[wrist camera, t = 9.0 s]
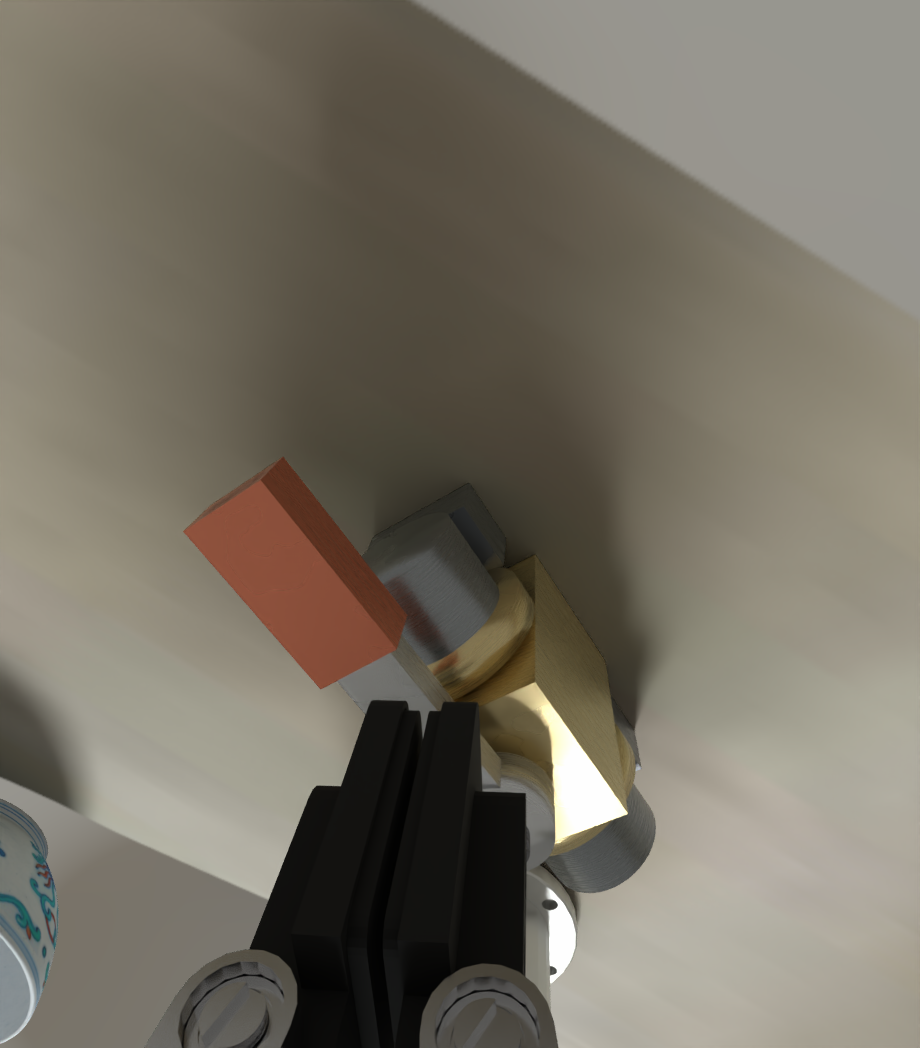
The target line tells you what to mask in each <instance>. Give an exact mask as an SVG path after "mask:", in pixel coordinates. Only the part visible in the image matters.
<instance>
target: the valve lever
mask: <svg viewBox="0 0 920 1048" xmlns="http://www.w3.org/2000/svg"><path fill="white" fill-rule="evenodd" d="M183 532H184V533H185V534H186V535H187V536H188V537H189V539H190V540H191V541H192V542H193V543H194V544H195V546H196V547H197V548H198V549H199V550H200V551H201V552H202V554H203V555H204V556H205V557H206V558H207V559H208V560H209V562H210V563H211V564H212V565H213V566H214V567H215V568H216V570H217V571H218V572H219V573H220V574H221V575H222V577H223V578H224V579H225V580H226V581H227V582H228V583H229V585H230V586H231V587H232V588H233V589H234V590H235V591H236V593H237V594H238V595H239V596H240V597H241V598H242V600H243V601H244V602H245V603H246V604H247V605H248V606H249V608H250V609H251V610H252V611H253V612H254V613H255V614H256V616H257V617H258V618H259V619H260V620H261V621H262V623H263V624H264V625H265V626H266V627H267V628H268V629H269V631H270V632H271V633H272V634H273V635H274V636H275V637H276V639H277V640H278V641H279V642H280V643H281V644H282V646H283V647H284V648H285V649H286V650H287V651H288V652H289V654H290V655H291V656H292V657H293V658H294V659H295V660H296V662H297V663H298V664H299V665H300V666H301V667H302V669H303V670H304V671H305V672H306V673H307V674H308V675H309V677H310V678H311V679H312V680H313V681H314V682H315V683H316V685H317V686H318V687H319V688H320V689H322V688H324V687H326V686H328V685H330V684H332V683H334V682H336V681H337V682H338V683H339V684H340V685H341V687H342V688H343V689H344V690H345V691H346V692H347V694H348V695H349V696H350V697H351V698H352V699H353V701H354V702H355V703H356V704H357V705H358V706H359V708H360V709H361V710H362V711H363V712H364V713H365V715H366V712H367V709H368V706H369V704H370V702H371V701H372V700H396V701H407V703H408V706H409V710H419V711H420V714H421V722H422V735H423V736H424V732H425V727H426V722H427V718H428V714H429V711H441V708H442V704H443V702H455V701H454V700H453V698H452V697H451V696H450V695H449V693H448V692H447V691H446V690H445V688H444V687H443V686H442V685H441V683H440V682H439V681H438V680H437V678H436V677H435V676H434V675H433V673H432V672H431V671H430V670H429V668H428V667H427V666H426V665H425V663H424V662H423V661H422V660H421V658H420V657H419V656H418V654H417V653H416V652H415V651H414V649H413V648H412V647H411V646H410V644H409V643H408V642H407V641H406V639H405V638H404V637H403V636H402V631H403V628H404V625H405V621H406V618H407V614H406V613H405V612H404V610H403V609H402V608H401V607H400V605H399V604H398V603H397V601H396V600H395V599H394V598H393V596H392V595H391V594H390V592H389V591H388V590H387V589H386V587H385V586H384V585H383V584H382V582H381V581H380V580H379V578H378V577H377V576H376V575H375V573H374V572H373V571H372V570H371V568H370V567H369V566H368V564H367V563H366V562H365V561H364V559H363V558H362V557H361V555H360V554H359V553H358V552H357V550H356V549H355V548H354V547H353V545H352V544H351V543H350V541H349V540H348V539H347V538H346V536H345V535H344V534H343V533H342V531H341V530H340V529H339V527H338V526H337V525H336V524H335V522H334V521H333V520H332V518H331V517H330V516H329V515H328V513H327V512H326V511H325V510H324V508H323V507H322V506H321V504H320V503H319V502H318V501H317V499H316V498H315V497H314V495H313V494H312V493H311V492H310V490H309V489H308V488H307V487H306V485H305V484H304V483H303V481H302V480H301V479H300V478H299V476H298V475H297V474H296V473H295V471H294V470H293V469H292V467H291V466H290V465H289V464H288V462H287V461H286V460H285V458H284V457H282V458H280V459H279V460H277V461H276V462H274V463H273V464H271V465H270V466H268V467H267V468H265V469H264V470H262V471H261V472H259V473H258V474H256V475H255V476H254V477H252V478H251V479H249V480H248V481H246V482H245V483H243V484H242V485H240V486H239V487H237V488H236V489H234V490H233V491H231V492H230V493H228V494H227V495H225V496H224V497H222V498H221V499H219V500H218V501H216V502H215V503H213V504H212V505H210V506H209V507H208V508H207V509H206V510H205V511H204V512H203V513H202V514H201V515H200V516H199V517H198V518H197V519H196V520H195V521H194V522H193V523H192V524H190V525H189V526H188V527H187V528H186V529H185V530H184V531H183ZM480 742H481V766H482V789H483V792H512V793H526V830H527V871H529V870H531V869H533V868H535V867H537V866H539V865H540V864H541V863H543V862H544V861H545V860H546V859H547V858H548V857H549V855H550V854H551V852H552V850H553V848H554V845H555V838H556V834H555V802H554V788H553V784H552V782H551V780H550V778H549V776H548V775H547V773H546V772H545V771H544V770H543V769H542V768H541V767H540V766H539V765H537V764H536V763H534V762H533V761H531V760H529V759H527V758H525V757H523V756H520V755H517V754H513V753H507V752H495V751H494V750H493V749H492V747H491V746H490V745H489V744H488V742H487V741H486V740H485V739H484V737H483V736H482V735H481V734H480Z"/></svg>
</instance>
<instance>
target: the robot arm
mask: <svg viewBox="0 0 920 1048" xmlns="http://www.w3.org/2000/svg"><path fill="white" fill-rule="evenodd" d="M576 947H577V922H576V913H575V909H574V906H573V904H572V901H571V899H570V896H569V895H568V893H567V892H566V891H565V889H564V888H563V886H562V885H561V883H560V882H559V881H558V880H557V879H556V878H555V877H554V876H553V875H552V874H550V873H549V872H548V871H547V870H546V869H545V868H543V867H542V866H540V865H539V866H537V867H535V868H533V869H531V870H529V871H527V830H526V793H512V792H483V789H482V766H481V742H480V719H479V705H478V702H443V704H442V708H441V711H429V714H428V718H427V722H426V727H425V732H424V736H423V735H422V722H421V714H420V711H419V710H409V706H408V703H407V701H396V700H372V701H371V702H370V704H369V706H368V709H367V712H366V715H365V718H364V721H363V724H362V727H361V730H360V733H359V736H358V738H357V741H356V744H355V747H354V750H353V753H352V756H351V759H350V762H349V765H348V768H347V771H346V773H345V776H344V779H343V782H342V785H341V786H316V787H315V788H314V789H313V790H312V792H311V794H310V796H309V798H308V801H307V803H306V806H305V809H304V811H303V814H302V816H301V819H300V821H299V824H298V826H297V829H296V832H295V834H294V837H293V839H292V842H291V844H290V847H289V849H288V852H287V855H286V857H285V860H284V862H283V865H282V867H281V870H280V872H279V875H278V877H277V880H276V883H275V885H274V888H273V890H272V893H271V895H270V898H269V900H268V903H267V906H266V908H265V911H264V913H263V916H262V918H261V921H260V923H259V926H258V928H257V931H256V934H255V936H254V939H253V941H252V944H251V947H250V949H248V950H247V949H245V950H240V951H236V952H232V953H228V954H225V955H223V956H221V957H219V958H217V959H215V960H213V961H211V962H209V963H207V964H206V965H205V966H203V967H202V968H201V969H200V970H199V971H197V972H196V973H195V974H194V975H193V976H191V977H190V978H189V979H188V981H187V982H186V983H185V984H184V986H183V987H182V989H181V990H180V991H179V992H178V993H177V995H176V996H175V997H174V999H173V1001H172V1002H171V1004H170V1006H169V1007H168V1009H167V1011H166V1012H165V1014H164V1016H163V1017H162V1019H161V1020H160V1022H159V1024H158V1025H157V1027H156V1028H155V1030H154V1032H153V1034H152V1035H151V1037H150V1038H149V1040H148V1042H147V1043H146V1045H145V1047H144V1048H558V1043H557V1037H556V1031H555V1026H554V1021H553V1018H552V1015H551V1003H550V983H552V982H553V981H554V980H555V979H556V978H558V977H559V976H560V975H561V974H562V973H563V972H564V971H565V969H566V968H567V966H568V965H569V963H570V962H571V961H572V959H573V956H574V953H575V950H576Z"/></svg>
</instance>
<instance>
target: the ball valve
mask: <svg viewBox="0 0 920 1048" xmlns="http://www.w3.org/2000/svg"><path fill="white" fill-rule="evenodd" d="M505 545H506V537H505V536H504V534H503V533H502V531H501V530H500V528H499V527H498V525H497V524H496V522H495V521H494V519H493V518H492V516H491V515H490V513H489V512H488V510H487V509H486V507H485V506H484V504H483V503H482V501H481V500H480V498H479V497H478V495H477V494H476V492H475V491H474V489H473V488H472V486H471V485H470V483H468V484H466V485H464V486H462V487H461V488H459V489H457V490H455V491H453V492H452V493H450V494H448V495H446V496H445V497H443V498H441V499H439V500H438V501H436V502H434V503H432V504H430V505H429V506H427V507H425V508H423V509H422V510H420V511H418V512H416V513H415V514H413V515H411V516H409V517H407V518H406V519H404V520H402V521H400V522H399V523H397V524H395V525H393V526H391V527H390V528H388V529H386V530H384V531H383V532H381V533H379V534H377V535H376V536H374V537H373V539H372V541H371V543H370V546H369V548H368V550H367V552H366V553H365V554H364V555H362V556H361V557H362V558H363V559H364V561H365V562H366V563H367V564H368V566H369V567H370V568H371V570H372V571H373V572H374V573H375V575H376V576H377V577H378V578H379V580H380V581H381V582H382V584H383V585H384V586H385V587H386V589H387V590H388V591H389V592H390V594H391V595H392V596H393V598H394V599H395V600H396V601H397V603H398V604H399V605H400V607H401V608H402V609H403V610H404V612H405V613H406V614H407V618H406V621H405V625H404V628H403V631H402V636H403V637H404V638H405V639H406V641H407V642H408V643H409V644H410V646H411V647H412V648H413V649H414V651H415V652H416V653H417V654H418V656H419V657H420V658H421V660H422V661H423V662H424V663H425V665H426V666H427V667H428V668H429V670H430V671H431V672H432V673H433V675H434V676H435V677H436V678H437V680H438V681H439V682H440V683H441V685H442V686H443V687H444V688H445V690H446V691H447V692H448V693H449V695H450V696H451V697H452V698H453V700H454V701H455V702H478V705H479V719H480V734H481V735H482V736H483V737H484V739H485V740H486V741H487V742H488V744H489V745H490V746H491V747H492V749H493V750H494V751H495V752H507V753H513V754H517V755H520V756H523V757H525V758H527V759H529V760H531V761H533V762H534V763H536V764H537V765H539V766H540V767H541V768H542V769H543V770H544V771H545V772H546V773H547V775H548V776H549V778H550V780H551V782H552V784H553V788H554V802H555V834H556V838H555V845H554V848H553V850H552V852H551V854H550V855H549V857H548V858H547V859H546V860H545V862H546V864H547V865H548V866H549V867H550V869H551V870H552V871H553V873H554V874H555V875H556V876H557V878H558V879H559V880H560V881H561V882H562V883H563V884H564V885H565V886H567V887H568V888H570V889H572V890H574V891H577V892H582V893H596V892H602V891H605V890H608V889H611V888H613V887H616V886H617V885H619V884H621V883H623V882H624V881H625V880H627V879H628V878H630V877H631V876H632V875H633V874H634V873H635V872H636V871H637V870H638V869H639V868H640V867H641V865H642V864H643V863H644V861H645V860H646V858H647V856H648V855H649V853H650V850H651V848H652V845H653V842H654V838H655V830H656V825H655V818H654V815H653V812H652V810H651V808H650V807H649V805H648V804H647V802H646V801H645V800H644V798H643V797H642V795H641V794H640V792H639V791H638V789H637V788H636V786H635V785H634V784H633V782H634V777H635V771H637V770H640V769H641V763H640V758H639V753H638V747H637V742H636V736H635V731H634V730H633V728H632V727H631V725H630V724H629V722H628V721H627V719H626V718H625V716H624V715H623V713H622V712H621V710H620V709H619V707H618V706H617V704H616V703H615V701H614V700H613V698H612V697H611V695H610V689H609V682H608V676H607V669H606V662H605V660H604V658H603V657H602V655H601V654H600V652H599V651H598V649H597V648H596V646H595V645H594V643H593V641H592V640H591V638H590V637H589V635H588V634H587V632H586V631H585V629H584V628H583V626H582V625H581V623H580V622H579V620H578V619H577V617H576V616H575V614H574V613H573V611H572V609H571V608H570V606H569V605H568V603H567V602H566V600H565V599H564V597H563V596H562V594H561V593H560V591H559V590H558V588H557V587H556V585H555V584H554V582H553V580H552V579H551V577H550V576H549V574H548V573H547V571H546V570H545V568H544V567H543V565H542V564H541V562H540V561H539V559H538V558H537V556H536V555H533V556H531V557H529V558H527V559H525V560H523V561H521V562H519V563H517V564H515V565H513V566H512V567H510V568H508V569H506V568H500V567H502V566H504V557H505Z"/></svg>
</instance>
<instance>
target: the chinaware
mask: <svg viewBox="0 0 920 1048" xmlns="http://www.w3.org/2000/svg"><path fill="white" fill-rule="evenodd" d="M47 854H48V847H47V842H46V839H45V836H44V834H43V833H42V831H41V829H40V828H39V826H38V825H37V824H36V822H34V821H33V819H32V818H31V817H30V816H28V815H27V814H26V813H25V812H23V811H22V810H21V809H19V808H18V807H16V806H14V805H13V804H11V803H9V802H7V801H4V800H2V799H0V1044H1V1043H3V1042H5V1041H7V1040H9V1039H11V1038H12V1037H14V1036H15V1035H17V1034H18V1033H19V1032H20V1031H21V1030H22V1029H23V1028H24V1027H25V1026H26V1024H27V1023H28V1022H29V1020H30V1018H31V1016H32V1014H33V1012H34V1010H35V1008H36V1006H37V1003H38V1001H39V999H40V996H41V994H42V991H43V988H44V986H45V983H46V980H47V977H48V974H49V971H50V967H51V964H52V960H53V955H54V951H55V946H56V940H57V933H58V901H57V894H56V889H55V885H54V881H53V878H52V875H51V872H50V869H49V867H48V865H47V863H46V861H45V860H46V858H47Z"/></svg>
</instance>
